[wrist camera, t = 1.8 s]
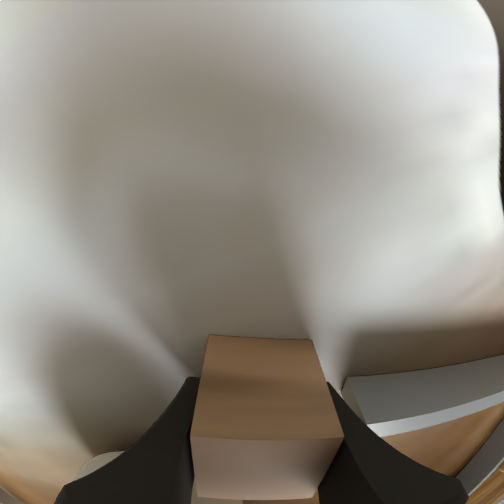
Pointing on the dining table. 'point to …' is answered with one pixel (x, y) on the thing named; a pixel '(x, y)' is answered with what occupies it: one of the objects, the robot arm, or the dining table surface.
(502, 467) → the yellow lumpy rounded piece
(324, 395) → the walnut block
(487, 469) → the gray open frame
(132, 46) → the dining table surface
